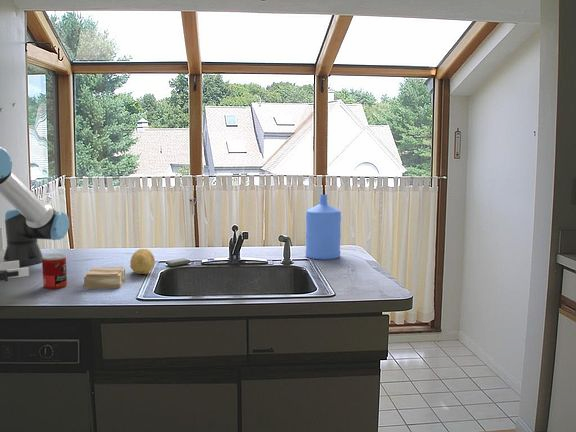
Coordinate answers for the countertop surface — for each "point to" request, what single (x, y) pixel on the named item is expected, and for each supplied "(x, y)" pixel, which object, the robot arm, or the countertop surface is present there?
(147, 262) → the potato
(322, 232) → the water jug
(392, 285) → the countertop surface
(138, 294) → the countertop surface
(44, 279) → the canned food
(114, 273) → the plinth
